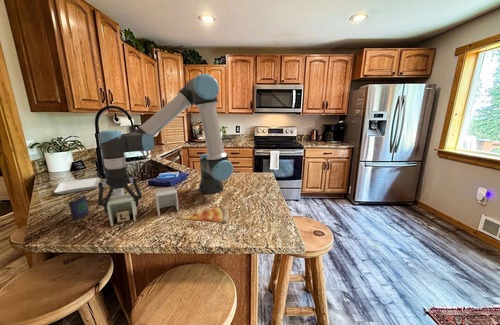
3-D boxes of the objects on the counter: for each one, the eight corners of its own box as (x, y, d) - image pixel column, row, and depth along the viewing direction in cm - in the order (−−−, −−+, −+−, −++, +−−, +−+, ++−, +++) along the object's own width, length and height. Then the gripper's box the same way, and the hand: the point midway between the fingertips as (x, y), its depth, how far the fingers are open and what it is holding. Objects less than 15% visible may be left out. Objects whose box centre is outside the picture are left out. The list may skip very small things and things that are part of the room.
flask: (84, 211, 98) (80, 190, 96) (91, 211, 98) (87, 190, 96) (70, 221, 89) (65, 198, 87) (78, 220, 89) (73, 198, 87)
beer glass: (119, 201, 110) (114, 174, 107) (108, 200, 111) (103, 174, 108) (129, 196, 117) (125, 171, 113) (118, 195, 118) (114, 170, 115)
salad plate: (99, 189, 129) (98, 184, 128) (54, 197, 117) (52, 191, 116) (100, 181, 146) (99, 176, 145) (61, 187, 134) (59, 182, 133)
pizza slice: (194, 205, 105) (194, 201, 105) (235, 208, 101) (235, 204, 101) (179, 220, 90) (179, 216, 90) (227, 224, 86) (227, 219, 86)
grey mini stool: (156, 208, 101) (154, 189, 98) (175, 204, 105) (173, 186, 103) (158, 215, 93) (156, 195, 91) (178, 211, 97) (177, 191, 95)
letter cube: (118, 218, 91) (117, 209, 90) (130, 215, 93) (128, 207, 92) (117, 222, 87) (116, 213, 86) (129, 220, 90) (128, 210, 89)
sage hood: (113, 217, 92) (109, 196, 90) (135, 212, 96) (132, 193, 94) (111, 226, 84) (107, 204, 82) (135, 220, 89) (132, 199, 87)
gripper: (81, 172, 77) (91, 226, 82) (144, 165, 87) (151, 213, 92) (85, 168, 83) (95, 218, 88) (144, 162, 94) (149, 207, 98)
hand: (123, 215), depth 90 cm, fingers closed on sage hood, 9 cm apart
